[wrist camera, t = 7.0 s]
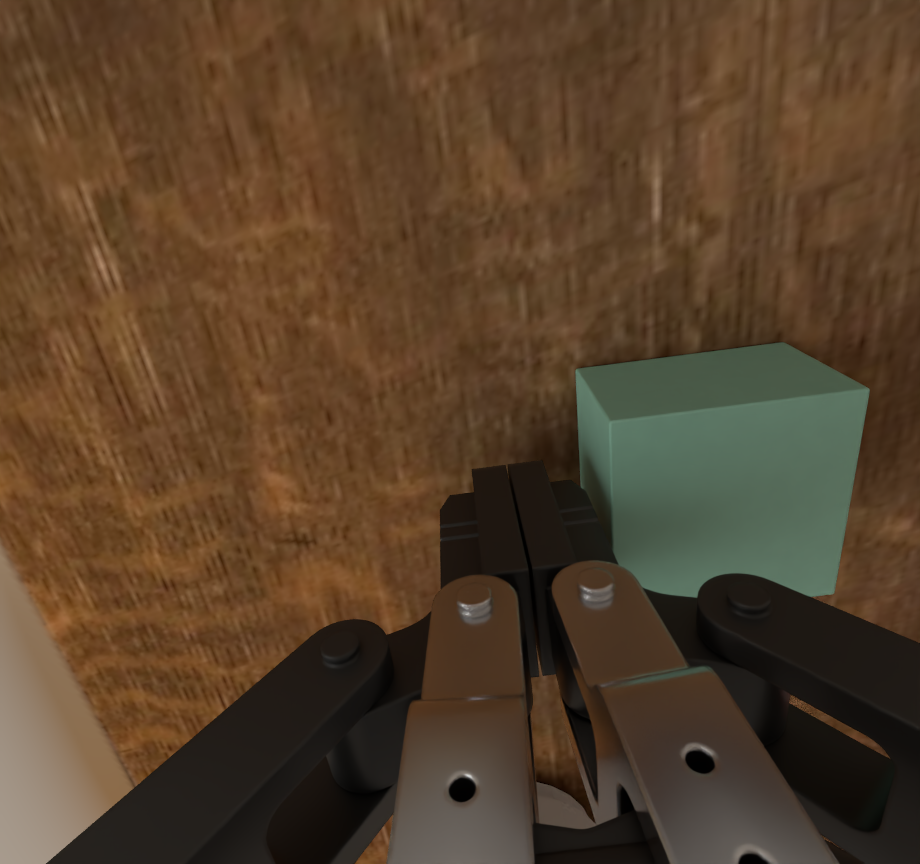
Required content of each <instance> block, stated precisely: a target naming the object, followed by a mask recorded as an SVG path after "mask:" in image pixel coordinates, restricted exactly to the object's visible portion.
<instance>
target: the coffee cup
mask: <svg viewBox="0 0 920 864" xmlns="http://www.w3.org/2000/svg"><path fill="white" fill-rule="evenodd" d="M536 784H537V797H538V809H539V822H540V823H541V824H548V825H554V826H561V827H568V828H574V829H587V828H591V827H594V826H596V824H595V823H594V822H593V821H592V820H591V819H590V818H589V817H588V816H587V814H586V812H585V810H584V808H583V807H582V806H581V805H580V804H579V803H578V802H577V801H576V800H575V799H574V798H572V797H571V796H570V795H569V794H567V793H565V792H563V791H561V790H559V789H557V788H555V787H553V786H550V785H546V784H542V783H538V782H536Z"/></svg>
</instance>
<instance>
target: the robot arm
mask: <svg viewBox="0 0 920 864" xmlns="http://www.w3.org/2000/svg"><path fill="white" fill-rule="evenodd" d="M472 476H473V485H474V492H472V493H465V494H457V495H450V496H449V497H448V499H447V500H446V502H445V503H444V505H443V506H442V508H441V509H440V528H441V529H440V540H441V542H440V562H441V590H440V591H439V592H438V593H437V595H436V596H435V598H434V600H433V603H432V609H431V612H430V613H429V614H428V615H427V616H425V617H424V618H423V619H421V620H420V621H418V622H417V623H415V624H413V625H411V626H409V627H407V628H404V629H402V630H399V631H396V632H394V633H391V634H388V635H386V634H385V632H384V631H383V630H382V629H381V628H380V627H379V626H378V625H376V624H375V623H372V622H370V621H366V620H358V619H352V620H344V621H340V622H336V623H333V624H331V625H329V626H326V627H324V628H323V629H321V630H319V631H318V632H316V633H315V634H314V635H312V636H311V637H310V638H309V639H308V640H306V641H305V642H304V643H303V644H302V645H301V646H299V647H298V648H297V649H296V650H295V651H294V652H292V653H291V654H290V655H289V656H288V657H287V658H285V659H284V660H283V661H282V662H281V663H280V664H278V665H277V666H276V667H275V668H274V669H273V670H271V671H270V672H269V673H268V674H267V675H266V676H264V677H263V678H262V679H261V680H260V681H259V682H257V683H256V684H255V685H254V686H253V687H252V688H250V689H249V690H248V691H247V692H246V693H245V694H243V695H242V696H241V697H240V698H239V699H238V700H236V701H235V702H234V703H233V704H232V705H231V706H229V707H228V708H227V709H226V710H225V711H224V712H222V713H221V714H220V715H219V716H218V717H217V718H215V719H214V720H213V721H212V722H211V723H210V724H208V725H207V726H206V727H205V728H204V729H203V730H201V731H200V732H199V733H198V734H197V735H196V736H194V737H193V738H192V739H191V740H190V741H189V742H187V743H186V744H185V745H184V746H183V747H182V748H180V749H179V750H178V751H177V752H176V753H175V754H173V755H172V756H171V757H170V758H169V759H168V760H166V761H165V762H164V763H163V764H162V765H161V766H159V767H158V768H157V769H156V770H155V771H154V772H152V773H151V774H150V775H149V776H148V777H147V778H145V779H144V780H143V781H142V782H141V783H140V784H138V785H137V786H136V787H135V788H134V789H133V790H131V791H130V792H129V793H128V794H127V795H126V796H124V797H123V798H122V799H121V800H120V801H119V802H117V803H116V804H115V805H114V806H113V807H112V808H110V809H109V810H108V811H107V812H106V813H105V814H103V815H102V816H101V817H100V818H99V819H98V820H96V821H95V822H94V823H93V824H92V825H91V826H90V827H88V828H87V829H86V830H85V831H84V832H82V833H81V834H80V835H79V836H78V837H77V838H75V839H74V840H73V841H72V842H71V843H70V844H68V845H67V846H66V847H65V848H64V849H63V850H61V851H60V852H59V853H58V854H57V855H56V856H54V857H53V858H52V859H51V860H50V861H49V862H47V863H46V864H354V863H355V862H356V861H357V859H358V858H359V857H360V856H361V854H362V853H363V852H364V850H365V849H366V848H367V846H368V845H369V844H370V843H371V841H372V840H373V839H374V837H375V836H376V835H377V834H378V832H379V831H380V830H381V828H382V827H383V826H384V824H385V823H386V822H387V821H388V819H389V818H390V817H391V815H392V814H393V813H394V814H393V821H392V828H391V835H390V842H389V849H388V857H387V864H920V643H918V642H915V641H913V640H911V639H908V638H906V637H903V636H901V635H899V634H896V633H894V632H892V631H889V630H887V629H885V628H882V627H880V626H877V625H875V624H873V623H870V622H868V621H866V620H863V619H861V618H859V617H856V616H854V615H851V614H849V613H847V612H844V611H842V610H840V609H837V608H835V607H833V606H830V605H828V604H825V603H823V602H821V601H818V600H816V599H814V598H811V597H809V596H807V595H804V594H802V593H799V592H797V591H795V590H792V589H790V588H788V587H785V586H783V585H781V584H778V583H776V582H773V581H771V580H768V579H766V578H763V577H759V576H756V575H750V574H742V573H730V574H723V575H719V576H716V577H713V578H711V579H709V580H708V581H706V582H705V583H704V584H703V585H702V586H701V587H700V589H699V591H698V596H697V598H696V597H686V596H677V595H668V594H662V593H658V592H654V591H651V590H648V589H645V588H643V587H642V586H641V585H640V583H639V581H638V580H637V578H636V577H635V576H634V575H633V574H632V573H631V572H630V571H629V570H627V569H626V568H624V567H622V566H620V565H619V564H618V562H617V560H616V557H615V555H614V553H613V551H612V548H611V546H610V544H609V542H608V539H607V537H606V535H605V533H604V530H603V528H602V526H601V524H600V521H598V517H597V515H596V512H595V510H594V509H593V506H592V503H591V501H590V499H589V497H588V494H587V492H586V491H585V490H584V489H582V488H581V487H580V486H578V485H577V484H576V483H574V482H573V481H571V480H564V481H557V482H550V481H549V478H548V475H547V473H546V470H545V467H544V464H543V461H542V460H538V461H531V462H523V463H515V464H508V474H507V470H506V466H505V465H501V466H493V467H486V468H478V469H472ZM508 476H509V479H508ZM536 645H537V649H536ZM537 650H538V655H539V660H540V665H541V670H542V675H543V676H545V675H554V674H556V676H557V680H558V685H559V689H560V700H561V712H562V717H563V720H564V723H565V726H566V730H567V733H568V736H569V739H570V742H571V745H572V749H573V752H574V755H575V758H576V761H577V764H578V768H579V771H580V774H581V777H582V780H583V783H584V787H585V790H586V793H587V796H588V799H589V802H590V806H591V809H592V812H593V815H594V819H595V823H596V826H594V827H591V828H587V829H574V828H568V827H561V826H554V825H548V824H541V823H540V822H539V809H538V797H537V784H536V771H535V759H534V746H533V733H532V721H531V709H532V705H533V694H532V685H531V677H539V670H538V659H537ZM790 694H791V695H793V696H795V697H797V698H798V699H800V700H802V701H804V702H806V703H808V704H809V705H811V706H813V707H815V708H817V709H819V710H820V711H822V712H824V713H826V714H828V715H830V716H831V717H833V718H835V719H837V720H839V721H841V722H842V723H844V724H846V725H848V726H850V727H852V728H853V729H855V730H857V731H859V732H861V733H863V734H864V735H866V736H868V737H869V738H871V739H872V740H874V741H875V742H876V743H877V744H879V745H880V746H881V747H882V748H883V749H884V750H885V751H886V753H887V754H888V755H889V757H890V759H889V758H887V757H885V756H883V755H881V754H879V753H878V752H876V751H874V750H872V749H870V748H869V747H867V746H865V745H863V744H861V743H860V742H858V741H856V740H854V739H852V738H851V737H849V736H847V735H845V734H844V733H842V732H840V731H838V730H836V729H835V728H833V727H831V726H829V725H827V724H826V723H824V722H822V721H820V720H818V719H817V718H815V717H813V716H811V715H809V714H808V713H806V712H804V711H802V710H800V709H799V708H797V707H795V706H793V705H792V704H790V703H789V700H790ZM821 835H823V836H824V837H826V838H827V839H829V840H830V841H832V842H833V843H834V844H836V845H837V846H839V847H840V848H839V847H837V846H836V845H834V844H832V843H830V842H828V841H826V840H824V839H823V837H822V836H821ZM841 848H842V849H843V850H842V849H841ZM844 850H845V851H844ZM847 852H848V853H847Z"/></svg>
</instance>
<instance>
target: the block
mask: <svg viewBox="0 0 920 864" xmlns="http://www.w3.org/2000/svg"><path fill="white" fill-rule="evenodd" d="M576 393H577V415H578V436H579V458H580V480H581V488H582V489H584V490H585V491H586V492H587V494H588V497H589V499H590V501H591V503H592V506H593V509H594V510H595V512H596V515H597V517H598V521H600V524H601V526H602V528H603V530H604V533H605V535H606V537H607V539H608V542H609V544H610V546H611V548H612V551H613V553H614V555H615V557H616V560H617V562H618V564H619V565H620V566H622V567H624V568H626V569H627V570H629V571H630V572H631V573H632V574H633V575H634V576H635V577H636V578H637V580H638V581H639V583H640V585H641V586H642V587H643V588H645V589H648V590H651V591H654V592H658V593H662V594H668V595H677V596H686V597H696V598H697V596H698V591H699V589H700V587H701V586H702V585H703V584H704V583H705V582H706V581H708V580H709V579H711V578H713V577H716V576H719V575H723V574H730V573H742V574H750V575H756V576H759V577H763V578H766V579H768V580H771V581H773V582H776V583H778V584H781V585H783V586H785V587H788V588H790V589H792V590H795V591H797V592H799V593H802V594H804V595H807V596H809V597H813V596H822V595H830V594H834V592H835V586H836V581H837V575H838V569H839V563H840V558H841V552H842V546H843V541H844V535H845V529H846V524H847V518H848V512H849V506H850V501H851V495H852V489H853V484H854V478H855V472H856V467H857V461H858V455H859V450H860V444H861V438H862V432H863V427H864V421H865V415H866V410H867V404H868V398H869V393H870V390H869V388H867V387H866V386H864V385H862V384H860V383H858V382H856V381H854V380H853V379H851V378H849V377H847V376H845V375H843V374H842V373H840V372H838V371H836V370H834V369H832V368H830V367H829V366H827V365H825V364H823V363H821V362H819V361H818V360H816V359H814V358H812V357H810V356H808V355H806V354H805V353H803V352H801V351H799V350H797V349H795V348H794V347H792V346H790V345H788V344H786V343H784V342H781V343H773V344H765V345H757V346H750V347H742V348H734V349H726V350H719V351H711V352H703V353H695V354H688V355H680V356H672V357H664V358H657V359H649V360H641V361H633V362H626V363H618V364H610V365H602V366H595V367H587V368H579V369H576Z"/></svg>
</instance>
